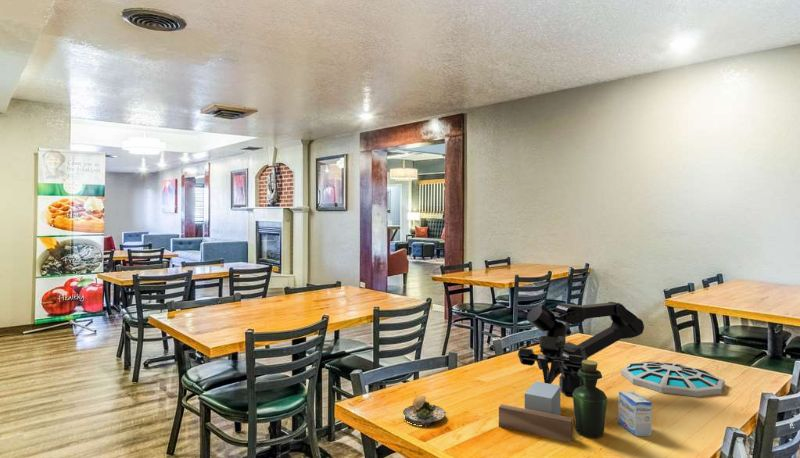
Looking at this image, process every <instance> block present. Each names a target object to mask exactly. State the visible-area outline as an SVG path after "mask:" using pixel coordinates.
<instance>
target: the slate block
mask: <svg viewBox="0 0 800 458" xmlns="http://www.w3.org/2000/svg"><path fill="white" fill-rule="evenodd" d="M561 392H562V391H561V386H559V384H553V383H551V384H548V383H544V382H541V381H536V380H535V381H534V382H533V383H532V385H530V386H529V388H528V389H527V390H526V391H525V392H524V409H529V410H534V411H539V412H544V413H550V414H555V415H560V416H561Z"/></svg>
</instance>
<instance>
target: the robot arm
mask: <svg viewBox="0 0 800 458" xmlns="http://www.w3.org/2000/svg"><path fill="white" fill-rule="evenodd" d="M601 317H602V318H605V317H609V318H610V320H611V321H612V322H611V324H610V326H609V327H608V328H606V329H604V330H602V331H600V332H598V333H597V334H594V335H593V336H591V337H590V338H588V339H585V340H584V341H581V342H580V343H578V344H575V343H573V342H571V341H567V342H566V337H567V336H568V335H572V334H573V333H572V332H573V331H572V330H571V329H570V328H569V326H568V325H566V324H569V325H573V326H574V325H577V324H580V323H583V322H584V321H585V320H588V319H594V318H601ZM526 320H527V322H529V323H530V324H531V325H533V327H535V328H536V329H537V330H539V331H540V332H542V333H544V332H546V333H545V335H544V336H543V335H541V336H540V338H539V348H540V350H539V351H540V353H535V352H534V349H533V348H525V347H521V348H519V349H518V353H517V356H518V359H519V362H520V364H521V365H525V366H531V367H533V366H534V365H535V363H537V367H538V368H539V370H541V371H542V374H543V376H542V377H543V381H544V382H543V383H548V384H553V382H554V380H556V378H557V377H558V376H559V379H558V380H559V381H558V382H559V383H558V385H559V386H561V392H562V394H564V395H565V396H566V397H573V392H574V390H575V389H576V388H578V387H580V386H583V385H584V384H583V381H582V377H580V376H578V374H577V373H578V371H579V369H581V368H583V366H582V361H583V360H588V358H590V357H592V356H594V355H596V354H597V353H599V352H601V351H603V350H604V349H607V348H608V347H610V346H611V345H613V344H615V343H617V342H619V341H620V340H622V339H623V340H624V339H632V338H636V337H639V336H640V335H642V334H643V332H644V330H645V324H644V322H643V320H642V319H641V318H638V316H637V315H635V314H634V313H632V312H631V311H630V310H628V308H626V307H625V306H624V305H623V304H622V303H620V302H616V301H615V302H614V301H608V302H602V303H601V302H600V303H590V304H584V305H583V304H582V305H579V304H573V303H564V302H562V303H558V304H557V305H556V307H554V308H551V309H548V308H547V306H546V305H544V304H543V303H539V304H538V305H537V306H535V307H533V308H532V309H530V310H529V311H528V313H527V316H526ZM549 364H550V367H549Z"/></svg>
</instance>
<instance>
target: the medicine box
mask: <svg viewBox="0 0 800 458" xmlns="http://www.w3.org/2000/svg"><path fill="white" fill-rule="evenodd" d="M652 409H653V403H652V402H651V401H650V400H648V399H647V398H645V397H643V396H641V395H640V394H638V393H636V392H635V391H632V390H627V391H626V390H623V391H622V390H621V391H618V411H617V412H618V414H617V415H618V416H617V423H618V424H619V425H620V426H621V427H623V428H624V429H625V430H627V431H628V432H630V433H631V434H632V435H633V436H634V437H651V436H652V431H653V430H652V427H653V426H652V425H653V423H652V422H653V414H652V413H653V410H652Z"/></svg>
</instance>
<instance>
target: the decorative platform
mask: <svg viewBox="0 0 800 458" xmlns="http://www.w3.org/2000/svg"><path fill="white" fill-rule="evenodd" d="M620 375H621V376H623V377H624V378H626V379H627V380H628V381H629V382H630V383H631V384H632V385H636V386H639V387H643V388H647V389H649V390H652V391H655V392H658V393H662V394H669V395H671V394H672V395H679V396H685V397H686V396H687V397H694V398H699V397H700V398H701V397H706V396H716V395H722V394H723V389H722V388H725V386H726V381H725V380H724V379H722V378H720V377H717V376H715V375H714V374H712V373H710V372H709V371H707V370H704V369H700V368H696V367H691V366H686V365H683V364H680V363H675V362H674V363H672V362H661V361H655V360H653V361H651V360H650V361H643V362H629V363H627V365H626V366H624V367H623V368H622V369H620Z"/></svg>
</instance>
